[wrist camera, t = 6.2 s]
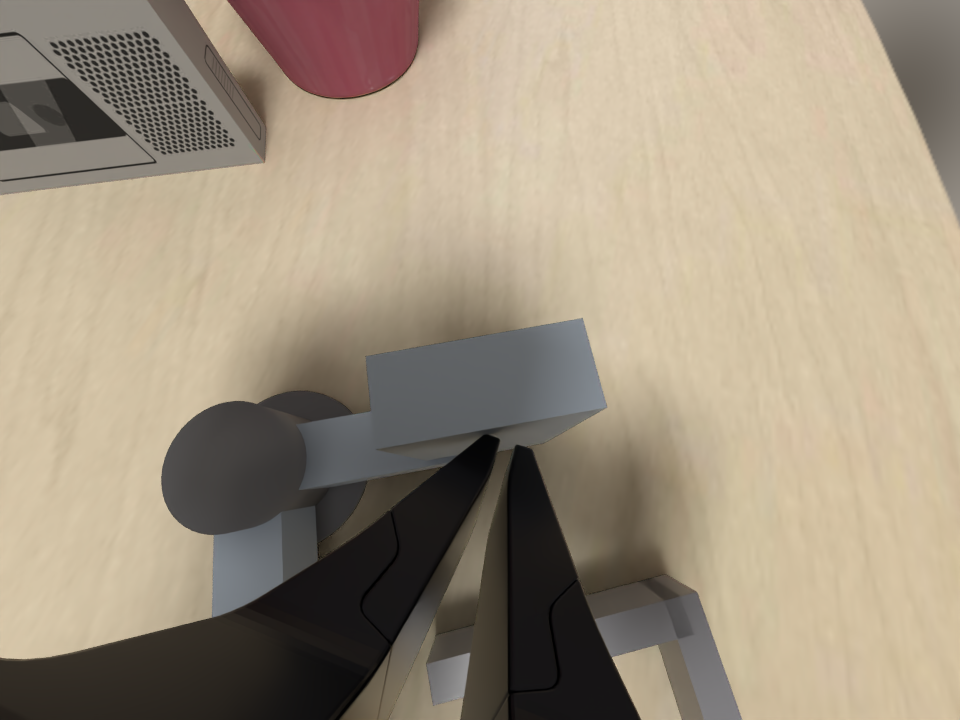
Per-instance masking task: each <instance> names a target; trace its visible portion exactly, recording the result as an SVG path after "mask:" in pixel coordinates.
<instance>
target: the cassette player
mask: <svg viewBox="0 0 960 720" xmlns="http://www.w3.org/2000/svg"><path fill="white" fill-rule="evenodd" d="M265 144H266V126H265V125H264V123H263V122H262V120H261V118H260V117H259V115H258V114H257V112H256V111H255V109H254V108H253V106H252V105H251V103H250V101H249V100H248V98H247V97H246V95H245V94H244V92H243V91H242V89H241V87H240V86H239V84H238V83H237V81H236V80H235V78H234V77H233V75H232V74H231V72H230V70H229V69H228V67H227V66H226V64H225V63H224V61H223V60H222V58H221V57H220V55H219V53H218V52H217V50H216V49H215V47H214V46H213V44H212V43H211V41H210V39H209V38H208V36H207V35H206V33H205V32H204V30H203V29H202V27H201V26H200V24H199V22H198V21H197V19H196V18H195V16H194V15H193V13H192V12H191V10H190V9H189V7H188V5H187V4H186V2H185V1H184V0H0V195H4V194H12V193H20V192H29V191H37V190H45V189H53V188H61V187H70V186H78V185H86V184H94V183H103V182H111V181H119V180H127V179H136V178H144V177H152V176H160V175H168V174H177V173H185V172H193V171H201V170H210V169H218V168H226V167H234V166H242V165H251V164H259V163H265Z"/></svg>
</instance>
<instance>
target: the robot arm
mask: <svg viewBox="0 0 960 720" xmlns="http://www.w3.org/2000/svg"><path fill="white" fill-rule="evenodd" d="M500 442H501V441H500V439H499V438H497V437H494V436H491V435H488V434H485V435H482V436H481V437H480V438H479V439H477V440H476V441H475V442H474V443H472V444H471V445H470V446H469V447H467V448H466V449H465V450H464V451H462V452H461V453H460V454H459V455H457V456H456V457H455V458H454V459H452V460H451V461H450V462H449V463H447V464H446V465H445V466H444V467H442V468H441V469H440V470H439V471H437V472H436V473H435V474H434V475H432V476H431V477H430V478H429V479H427V480H426V481H425V482H424V483H422V484H421V485H420V486H419V487H417V488H416V489H415V490H414V491H412V492H411V493H410V494H409V495H407V496H406V497H405V498H404V499H402V500H401V501H400V502H399V503H397V504H396V505H395V506H394V507H392V508H391V510H390V511H387V512H386V513H385V514H383V515H382V516H381V517H380V518H378V519H377V520H376V521H375V522H373V523H372V524H371V525H369V526H368V527H367V528H365V529H364V530H363V531H361V532H360V533H359V534H357V535H356V536H355V537H353V538H352V539H350V540H349V541H347V542H346V543H344V544H343V545H341V546H340V547H338V548H337V549H335V550H334V551H332V552H331V553H329V554H327V555H326V556H324V557H323V558H321V559H319V560H318V561H316V562H315V563H313V564H311V565H310V566H308V567H307V568H305V569H303V570H302V571H300V572H299V573H297V574H295V575H294V576H292V577H291V578H289V579H287V580H286V581H284V582H283V583H281V584H279V585H278V586H276V587H275V588H273V589H271V590H270V591H268V592H267V593H265V594H263V595H262V596H260V597H258V598H257V599H255V600H253V601H251V602H249V603H247V604H245V605H244V606H241V607H239V608H237V609H235V610H232V611H230V612H227V613H225V614H222V615H219V616H216V617H213V618H209V619H205V620H201V621H197V622H193V623H189V624H185V625H181V626H177V627H173V628H169V629H165V630H161V631H157V632H153V633H149V634H145V635H141V636H137V637H133V638H129V639H125V640H121V641H117V642H113V643H109V644H105V645H101V646H97V647H93V648H89V649H85V650H81V651H77V652H73V653H68V654H63V655H58V656H52V657H46V658H35V659H5V658H0V720H388V719H389V716H390V714H391V712H392V710H393V707H394V705H395V703H396V701H397V699H398V696H399V694H400V692H401V690H402V687H403V685H404V683H405V681H406V678H407V676H408V674H409V672H410V670H411V667H412V665H413V663H414V661H415V658H416V656H417V654H418V652H419V650H420V647H421V645H422V643H423V641H424V638H425V636H426V634H427V632H428V630H429V627H430V625H431V623H432V621H433V618H434V616H435V614H436V612H437V610H438V607H439V605H440V603H441V601H442V598H443V596H444V594H445V592H446V590H447V587H448V585H449V583H450V581H451V578H452V576H453V574H454V572H455V570H456V567H457V565H458V563H459V561H460V558H461V556H462V554H463V552H464V550H465V547H466V545H467V543H468V541H469V538H470V536H471V533H472V531H473V528H474V525H475V522H476V519H477V516H478V513H479V510H480V507H481V504H482V500H483V497H484V494H485V491H486V488H487V485H488V481H489V478H490V475H491V472H492V469H493V465H494V462H495V459H496V455H497V452H498V449H499V445H500ZM578 579H579V576H578V573H577V571H576V568H575V565H574V562H573V560H572V557H571V554H570V551H569V549H568V546H567V543H566V540H565V538H564V535H563V532H562V529H561V527H560V524H559V521H558V518H557V516H556V513H555V510H554V507H553V505H552V502H551V499H550V496H549V494H548V491H547V488H546V485H545V483H544V480H543V477H542V474H541V472H540V469H539V466H538V463H537V461H536V458H535V455H534V452H533V450H532V449H530V448H527V447H524V446H521V445H518V444H517V445H515V447H514V449H513V452H512V455H511V458H510V461H509V464H508V467H507V470H506V473H505V476H504V480H503V483H502V487H501V491H500V494H499V498H498V501H497V505H496V509H495V512H494V516H493V519H492V523H491V527H490V531H489V535H488V540H487V546H486V552H485V559H484V565H483V572H482V579H481V585H480V592H479V599H478V605H477V612H476V619H475V626H474V632H473V639H472V646H471V652H470V659H469V666H468V672H467V679H466V686H465V692H464V699H463V706H462V712H461V719H460V720H641V718H640V716H639V714H638V712H637V710H636V708H635V706H634V704H633V702H632V699H631V697H630V695H629V693H628V691H627V689H626V687H625V685H624V683H623V681H622V678H621V676H620V674H619V672H618V670H617V668H616V666H615V664H614V662H613V659H612V657H611V655H610V653H609V651H608V648H607V646H606V644H605V642H604V640H603V637H602V635H601V633H600V631H599V628H598V626H597V623H596V621H595V618H594V616H593V613H592V611H591V608H590V606H589V603H588V601H587V598H586V595H585V592H584V589H583V587H582V584H581V581H580V580H578Z"/></svg>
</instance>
